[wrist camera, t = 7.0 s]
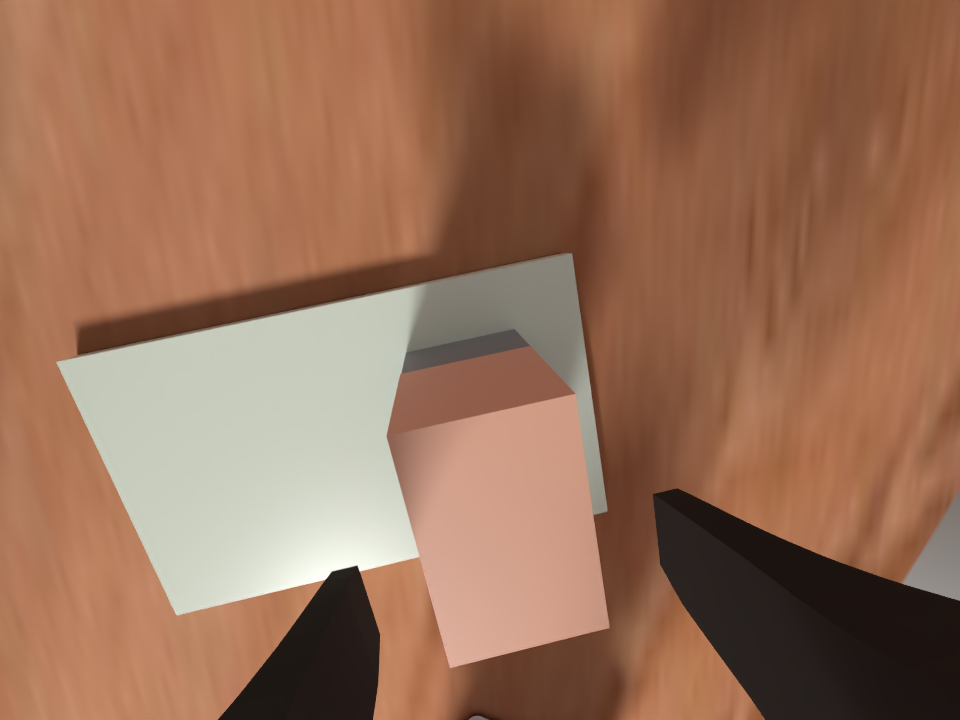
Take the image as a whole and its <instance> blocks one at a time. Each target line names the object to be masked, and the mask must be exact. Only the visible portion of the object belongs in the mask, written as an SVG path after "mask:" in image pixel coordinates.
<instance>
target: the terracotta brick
mask: <svg viewBox="0 0 960 720" xmlns="http://www.w3.org/2000/svg"><path fill="white" fill-rule="evenodd" d="M386 437H387V440H388V444H389V448H390V451H391V455H392V459H393V462H394V466H395V470H396V473H397V477H398V480H399V484H400V488H401V491H402V495H403V499H404V502H405V506H406V510H407V513H408V517H409V521H410V524H411V528H412V531H413V535H414V539H415V542H416V546H417V550H418V553H419V557H420V561H421V564H422V568H423V571H424V575H425V579H426V582H427V586H428V590H429V593H430V597H431V601H432V604H433V608H434V612H435V615H436V619H437V622H438V626H439V630H440V633H441V637H442V641H443V644H444V648H445V652H446V655H447V659H448V663H449V666H450V668H452V667H456V666H460V665H464V664H468V663H472V662H476V661H480V660H484V659H488V658H492V657H496V656H500V655H504V654H508V653H512V652H516V651H520V650H524V649H528V648H531V647H535V646H539V645H543V644H547V643H551V642H555V641H559V640H563V639H567V638H571V637H575V636H579V635H583V634H587V633H591V632H595V631H599V630H603V629H607V628H610V627H609V620H608V613H607V606H606V599H605V593H604V586H603V579H602V572H601V565H600V558H599V551H598V544H597V537H596V530H595V523H594V516H593V510H592V503H591V496H590V489H589V482H588V475H587V468H586V461H585V454H584V447H583V440H582V434H581V427H580V420H579V413H578V406H577V399H576V394H575V392H574V391H573V390H572V389H571V388H570V387H569V386H568V385H567V384H566V383H565V382H564V381H563V380H562V379H561V378H560V377H559V375H558V374H557V373H556V372H555V371H554V370H553V369H552V368H551V367H550V366H549V365H548V364H547V363H546V362H545V361H544V360H543V359H542V357H541V356H540V355H539V354H538V353H537V352H536V351H535V350H534V349H533V348H532V347H531V346H527V347H523V348H518V349H513V350H509V351H504V352H500V353H495V354H490V355H486V356H481V357H476V358H472V359H467V360H463V361H458V362H453V363H449V364H444V365H440V366H435V367H430V368H426V369H421V370H416V371H412V372H407V373H403V374H400V377H399V382H398V386H397V391H396V395H395V399H394V404H393V408H392V413H391V417H390V422H389V426H388V431H387V435H386Z"/></svg>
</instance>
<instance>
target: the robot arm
mask: <svg viewBox="0 0 960 720" xmlns="http://www.w3.org/2000/svg"><path fill="white" fill-rule="evenodd" d="M653 499H654V509H655V518H656V528H657V537H658V547H659V556H660V565H661V566H662V568H663V570H664V572H665V574H666V576H667V577H668V579H669V581H670V583H671V585H672V587H673V588H674V590H675V592H676V593H677V595H678V597H679V599H680V600H681V602H682V604H683V605H684V607H685V608H686V610H687V611H688V612H689V614H690V615H691V617H692V618H693V619H694V621H695V622H696V624H697V625H698V626H699V628H700V629H701V631H702V632H703V633H704V635H705V636H706V638H707V639H708V640H709V642H710V643H711V644H712V646H713V647H714V649H715V650H716V651H717V653H718V654H719V655H720V657H721V658H722V659H723V661H724V662H725V664H726V665H727V666H728V668H729V669H730V670H731V672H732V673H733V675H734V676H735V677H736V679H737V680H738V681H739V683H740V684H741V686H742V687H743V688H744V690H745V691H746V692H747V694H748V695H749V697H750V698H751V699H752V701H753V702H754V704H755V705H756V707H757V708H758V710H759V711H760V712H761V714H762V715H763V717H764V718H765V720H960V601H958V600H955V599H951V598H948V597H945V596H941V595H938V594H934V593H931V592H928V591H924V590H921V589H917V588H914V587H911V586H907V585H904V584H901V583H898V582H895V581H892V580H888V579H885V578H882V577H879V576H876V575H874V574H871V573H868V572H865V571H862V570H860V569H857V568H854V567H851V566H848V565H846V564H843V563H840V562H837V561H835V560H832V559H830V558H827V557H824V556H822V555H819V554H817V553H815V552H812V551H810V550H807V549H805V548H803V547H800V546H798V545H796V544H793V543H791V542H788V541H786V540H784V539H782V538H779V537H777V536H775V535H773V534H770V533H768V532H766V531H764V530H762V529H760V528H758V527H755V526H753V525H751V524H749V523H747V522H745V521H743V520H741V519H739V518H737V517H735V516H733V515H731V514H729V513H727V512H725V511H723V510H721V509H719V508H717V507H715V506H713V505H711V504H709V503H707V502H705V501H703V500H701V499H699V498H697V497H694V496H692V495H690V494H688V493H686V492H684V491H682V490H680V489H673V490H669V491H665V492H660V493H656V494H653ZM379 650H380V633H379V630H378V627H377V624H376V621H375V617H374V614H373V611H372V608H371V605H370V602H369V599H368V596H367V593H366V590H365V587H364V584H363V580H362V577H361V574H360V571H359V568H358V565H357V566H352V567H348V568H344V569H340V570H336V571H332V572H331V573H330V575H329V576H328V577H327V579H326V580H325V581H324V583H323V584H322V585H321V587H320V588H319V590H318V591H317V593H316V594H315V595H314V597H313V598H312V600H311V601H310V602H309V604H308V605H307V607H306V608H305V609H304V611H303V612H302V614H301V615H300V616H299V618H298V619H297V621H296V622H295V623H294V625H293V626H292V627H291V629H290V630H289V632H288V633H287V634H286V636H285V637H284V638H283V640H282V641H281V642H280V644H279V645H278V647H277V648H276V649H275V650H274V652H273V653H272V654H271V656H270V657H269V658H268V659H267V661H266V662H265V663H264V664H263V666H262V667H261V668H260V669H259V671H258V672H257V673H256V674H255V676H254V677H253V678H252V679H251V681H250V682H249V683H248V684H247V686H246V687H245V688H244V690H243V691H242V692H241V693H240V694H239V696H238V697H237V698H236V699H235V700H234V702H233V703H232V704H231V705H230V706H229V707H228V709H227V710H226V711H225V712H224V713H223V714H222V715H221V717H220V718H219V719H218V720H373V715H374V708H375V701H376V694H377V687H378V676H379ZM469 720H488V719H486V718H483V717H481V716H473V717H471V718H470V719H469Z"/></svg>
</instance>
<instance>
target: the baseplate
mask: <svg viewBox="0 0 960 720" xmlns="http://www.w3.org/2000/svg"><path fill="white" fill-rule="evenodd" d="M512 329H515V330H516V331H517V332H518V333H519V334H520V336H521V337H522V338H523V339H524V340H525V341H526V342H527V343H528V344H529V345H530V346H531V347H532V348H533V349H534V350H535V351H536V352H537V353H538V354H539V355H540V356H541V357H542V359H543V360H544V361H545V362H546V363H547V364H548V365H549V366H550V367H551V368H552V369H553V370H554V371H555V372H556V373H557V374H558V375H559V377H560V378H561V379H562V380H563V381H564V382H565V383H566V384H567V385H568V386H569V387H570V388H571V389H572V390H573V391H574V392H575V394H576V399H577V406H578V413H579V420H580V427H581V434H582V440H583V447H584V454H585V461H586V468H587V475H588V482H589V489H590V496H591V503H592V510H593V515H595V514H599V513H604V512H608V510H607V503H606V496H605V488H604V481H603V474H602V467H601V459H600V452H599V445H598V438H597V430H596V423H595V416H594V409H593V401H592V394H591V387H590V380H589V372H588V365H587V358H586V351H585V343H584V336H583V329H582V322H581V314H580V307H579V300H578V293H577V285H576V278H575V271H574V264H573V256H572V253H561V254H556V255H551V256H547V257H542V258H537V259H532V260H528V261H523V262H518V263H513V264H509V265H504V266H499V267H494V268H490V269H485V270H480V271H475V272H471V273H466V274H461V275H456V276H452V277H447V278H442V279H437V280H432V281H428V282H423V283H418V284H413V285H409V286H404V287H399V288H394V289H390V290H385V291H380V292H375V293H371V294H366V295H361V296H356V297H352V298H347V299H342V300H337V301H333V302H328V303H323V304H318V305H314V306H309V307H304V308H299V309H295V310H290V311H285V312H280V313H276V314H271V315H266V316H261V317H257V318H252V319H247V320H242V321H238V322H233V323H228V324H223V325H219V326H214V327H209V328H204V329H200V330H195V331H190V332H185V333H180V334H176V335H171V336H166V337H161V338H157V339H152V340H147V341H142V342H138V343H133V344H128V345H123V346H119V347H114V348H109V349H104V350H100V351H95V352H90V353H85V354H81V355H76V356H73V357H70V358H67V359H64V360H61V361H58V362H56V363H57V365H58V367H59V369H60V371H61V373H62V375H63V377H64V379H65V381H66V384H67V386H68V388H69V390H70V392H71V394H72V396H73V398H74V400H75V403H76V405H77V407H78V409H79V411H80V413H81V415H82V417H83V419H84V422H85V424H86V426H87V428H88V430H89V432H90V434H91V436H92V438H93V440H94V443H95V445H96V447H97V449H98V451H99V453H100V455H101V457H102V459H103V462H104V464H105V466H106V468H107V470H108V472H109V474H110V476H111V478H112V480H113V483H114V485H115V487H116V489H117V491H118V493H119V495H120V497H121V499H122V502H123V504H124V506H125V508H126V510H127V512H128V514H129V516H130V518H131V521H132V523H133V525H134V527H135V529H136V531H137V533H138V535H139V537H140V539H141V542H142V544H143V546H144V548H145V550H146V552H147V554H148V556H149V558H150V561H151V563H152V565H153V567H154V569H155V571H156V573H157V575H158V577H159V579H160V582H161V584H162V586H163V588H164V590H165V592H166V594H167V596H168V598H169V601H170V603H171V605H172V607H173V609H174V611H175V613H176V615H180V614H184V613H188V612H193V611H197V610H201V609H205V608H209V607H213V606H217V605H222V604H226V603H230V602H234V601H238V600H242V599H247V598H251V597H255V596H259V595H263V594H267V593H271V592H276V591H280V590H284V589H288V588H292V587H296V586H300V585H305V584H309V583H313V582H317V581H321V580H325V579H327V577H328V576H329V575H330V573H331V572H332V571H336V570H340V569H344V568H348V567H352V566H357V565H358V568H359V571H363V570H367V569H371V568H375V567H379V566H384V565H388V564H392V563H396V562H400V561H404V560H408V559H413V558H417V557H419V553H418V550H417V546H416V542H415V539H414V535H413V531H412V528H411V524H410V521H409V517H408V513H407V510H406V506H405V502H404V499H403V495H402V491H401V488H400V484H399V480H398V477H397V473H396V470H395V466H394V462H393V459H392V455H391V451H390V448H389V444H388V440H387V437H386V435H387V431H388V426H389V422H390V417H391V413H392V408H393V404H394V399H395V395H396V391H397V386H398V382H399V377H400V374H401V373H402V368H403V364H404V359H405V354H406V352H411V351H415V350H420V349H425V348H429V347H434V346H438V345H443V344H448V343H452V342H457V341H461V340H466V339H471V338H475V337H480V336H484V335H489V334H494V333H498V332H503V331H507V330H512Z"/></svg>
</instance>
